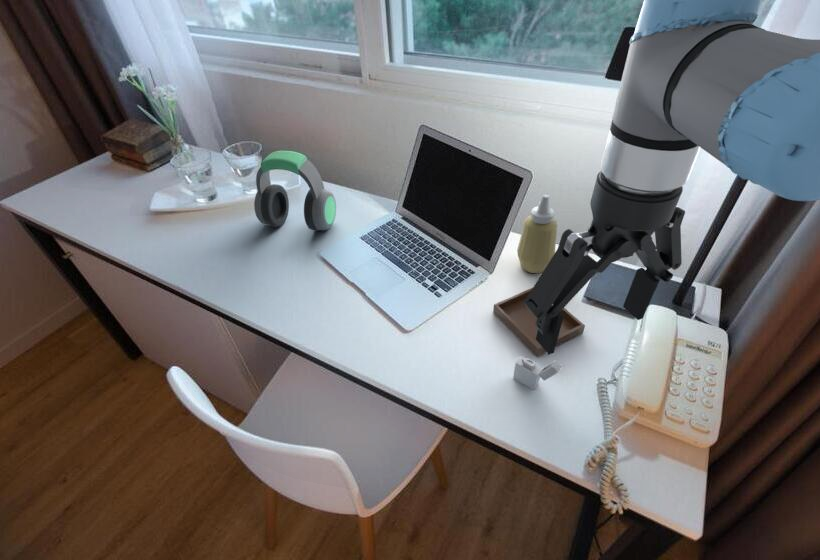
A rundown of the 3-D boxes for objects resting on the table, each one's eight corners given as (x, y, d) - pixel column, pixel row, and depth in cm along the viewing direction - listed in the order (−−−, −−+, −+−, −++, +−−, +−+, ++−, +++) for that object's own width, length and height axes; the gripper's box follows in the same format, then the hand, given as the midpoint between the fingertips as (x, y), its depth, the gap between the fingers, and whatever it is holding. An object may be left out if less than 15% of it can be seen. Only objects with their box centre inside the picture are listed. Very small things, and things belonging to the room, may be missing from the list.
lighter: (512, 377, 75) (517, 348, 70) (517, 371, 76) (523, 341, 71) (549, 399, 72) (558, 370, 66) (554, 393, 73) (563, 363, 67)
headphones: (258, 233, 113) (234, 162, 100) (277, 211, 121) (256, 143, 108) (326, 240, 109) (310, 167, 96) (340, 216, 117) (327, 146, 104)
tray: (582, 333, 82) (585, 325, 81) (536, 357, 78) (538, 349, 77) (536, 293, 91) (538, 285, 89) (492, 312, 87) (493, 304, 86)
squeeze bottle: (520, 278, 95) (531, 208, 83) (511, 256, 101) (520, 187, 89) (557, 275, 95) (573, 204, 83) (545, 253, 101) (558, 184, 89)
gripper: (705, 136, 47) (644, 282, 61) (504, 189, 40) (488, 339, 54) (772, 164, 41) (689, 318, 55) (553, 230, 35) (522, 385, 49)
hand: (589, 328), depth 55 cm, fingers open, 13 cm apart
